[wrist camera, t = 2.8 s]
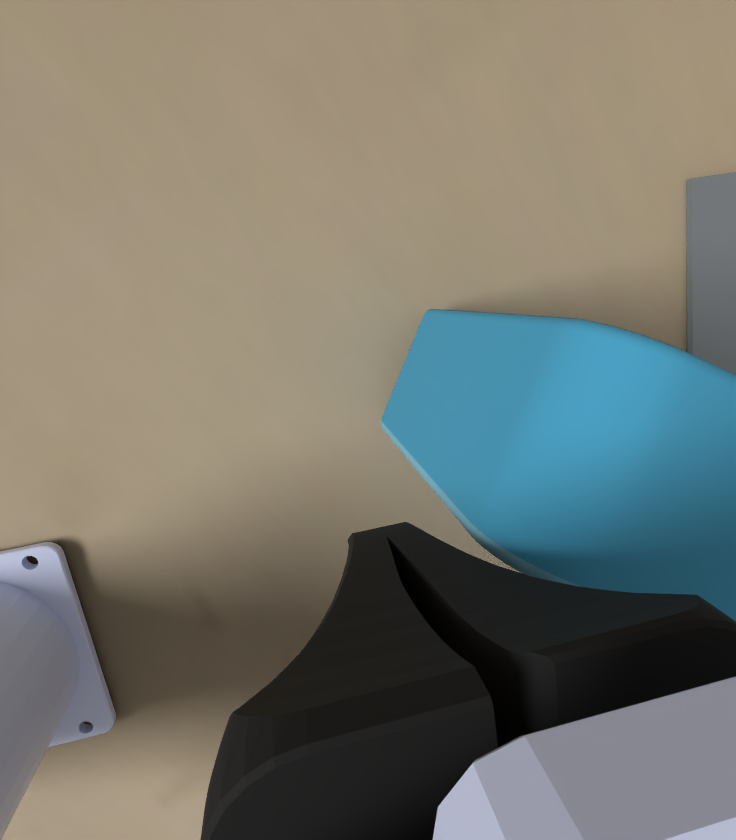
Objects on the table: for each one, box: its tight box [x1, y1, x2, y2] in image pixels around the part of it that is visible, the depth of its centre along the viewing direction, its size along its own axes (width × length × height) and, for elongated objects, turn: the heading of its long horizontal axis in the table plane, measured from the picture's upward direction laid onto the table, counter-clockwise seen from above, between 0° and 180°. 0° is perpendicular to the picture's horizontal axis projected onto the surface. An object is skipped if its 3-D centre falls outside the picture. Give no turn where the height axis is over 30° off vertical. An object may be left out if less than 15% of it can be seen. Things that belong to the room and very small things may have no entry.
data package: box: [381, 309, 736, 621], centre depth 16 cm, size 12×4×12 cm, turn 68°
